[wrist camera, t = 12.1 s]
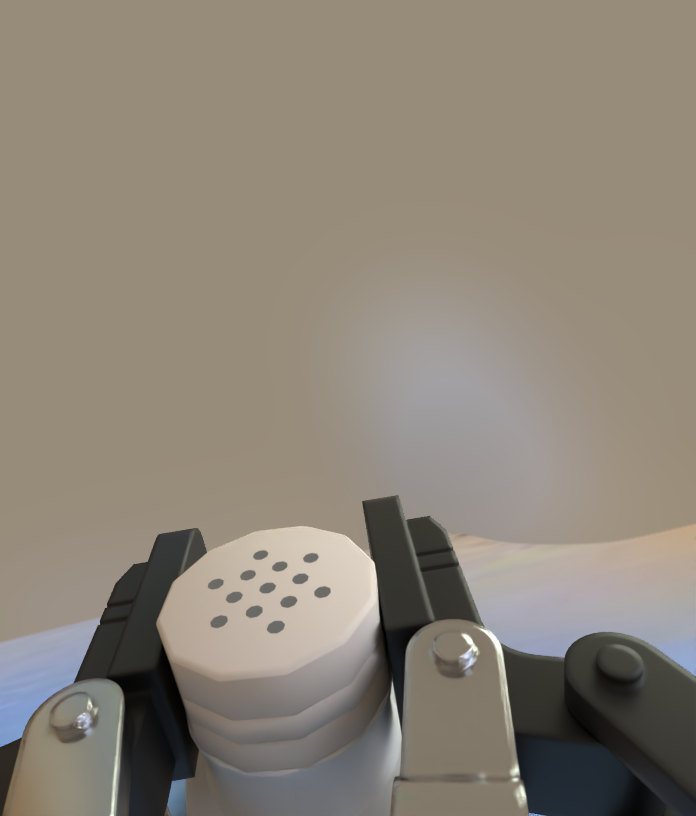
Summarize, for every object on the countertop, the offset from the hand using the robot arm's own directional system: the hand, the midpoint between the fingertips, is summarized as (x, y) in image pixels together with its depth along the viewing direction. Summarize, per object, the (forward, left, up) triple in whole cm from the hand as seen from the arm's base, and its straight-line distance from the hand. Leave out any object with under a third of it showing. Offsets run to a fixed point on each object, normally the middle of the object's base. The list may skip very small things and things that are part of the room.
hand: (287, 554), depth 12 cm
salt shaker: (0, +3, -8) cm, 9 cm away
